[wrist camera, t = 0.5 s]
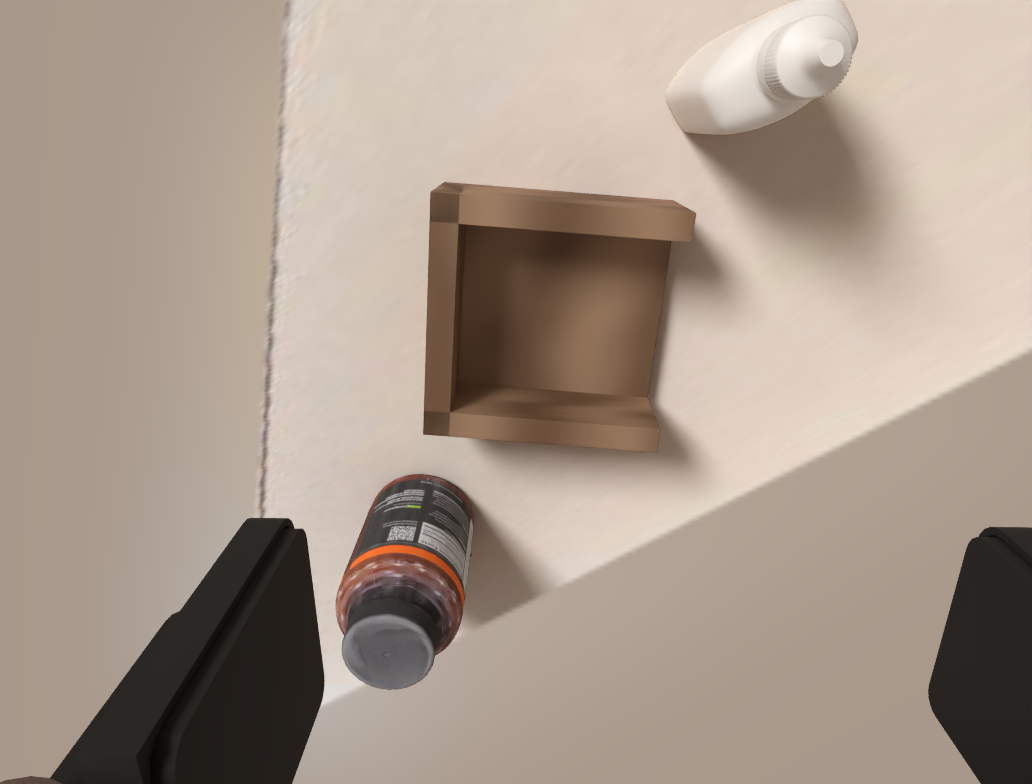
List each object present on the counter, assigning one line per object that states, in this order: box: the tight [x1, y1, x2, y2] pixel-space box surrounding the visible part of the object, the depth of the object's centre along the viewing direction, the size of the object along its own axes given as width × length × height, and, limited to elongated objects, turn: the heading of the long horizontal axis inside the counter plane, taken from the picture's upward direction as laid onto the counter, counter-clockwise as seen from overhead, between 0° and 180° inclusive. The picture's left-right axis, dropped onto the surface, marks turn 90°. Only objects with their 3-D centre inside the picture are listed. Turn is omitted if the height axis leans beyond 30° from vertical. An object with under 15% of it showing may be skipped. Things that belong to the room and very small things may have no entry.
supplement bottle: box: [336, 474, 473, 690], centre depth 35 cm, size 6×6×11 cm
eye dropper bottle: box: [665, 0, 858, 135], centre depth 26 cm, size 4×6×12 cm
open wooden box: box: [423, 182, 696, 452], centre depth 33 cm, size 11×11×5 cm
